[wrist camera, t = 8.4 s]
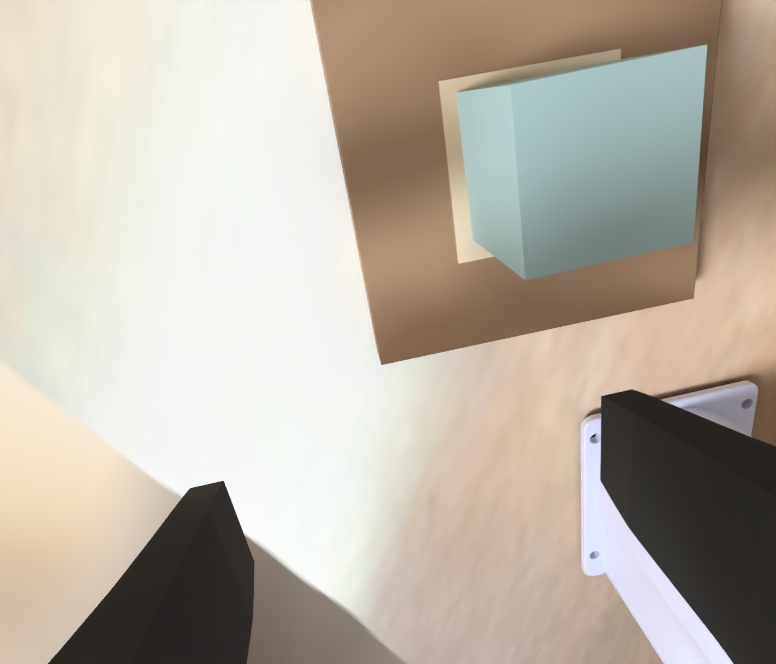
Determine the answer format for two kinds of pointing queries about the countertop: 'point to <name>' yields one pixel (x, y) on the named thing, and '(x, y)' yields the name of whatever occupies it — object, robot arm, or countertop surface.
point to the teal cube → (585, 161)
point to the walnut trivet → (446, 164)
